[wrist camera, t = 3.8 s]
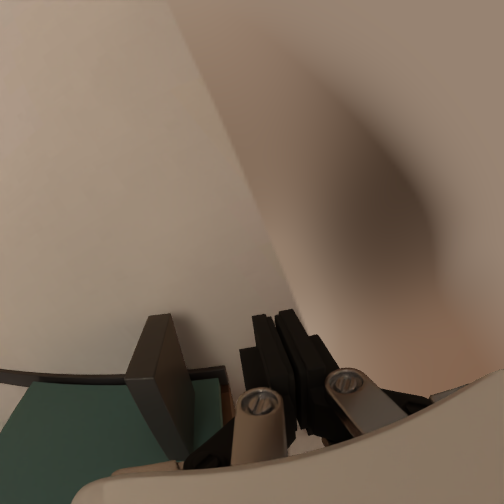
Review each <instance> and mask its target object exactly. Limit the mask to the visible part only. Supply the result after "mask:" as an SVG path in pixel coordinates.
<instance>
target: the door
mask: <svg viewBox="0 0 504 504" xmlns="http://www.w3.org/2000/svg"><path fill="white" fill-rule="evenodd" d="M124 381H125V383H126V385H74V384H57V383H44V382H32V384H31V385H30V387H29V388H28V390H27V391H26V393H25V394H24V396H23V397H22V399H21V400H20V402H19V403H18V405H17V407H16V408H15V410H14V411H13V413H12V415H11V416H10V418H9V419H8V421H7V423H6V424H5V426H4V428H3V430H2V431H1V433H0V504H71V502H72V500H73V499H74V497H75V495H76V494H77V492H78V491H79V490H80V489H81V488H82V487H83V486H85V485H87V484H88V483H90V482H93V481H95V480H98V479H101V478H106V477H110V476H111V474H112V473H113V472H115V471H116V470H119V469H122V468H128V467H136V466H143V465H149V464H155V463H161V462H166V461H171V460H176V461H177V462H181V461H185V460H186V458H187V457H188V456H189V455H190V454H191V453H192V452H194V451H195V450H196V449H197V448H199V447H200V446H201V445H202V444H203V443H205V442H206V441H207V440H208V439H209V438H211V437H212V436H213V435H214V434H215V433H216V432H218V431H219V430H220V429H221V428H222V427H223V418H222V403H221V388H220V383H219V379H218V378H213V379H204V380H195V381H191V379H190V376H189V373H188V370H187V367H186V364H185V361H184V357H183V354H182V351H181V348H180V344H179V341H178V337H177V334H176V330H175V327H174V323H173V319H172V316H171V313H168V314H160V315H152V316H149V317H148V319H147V321H146V324H145V326H144V329H143V331H142V334H141V336H140V338H139V341H138V343H137V346H136V348H135V351H134V354H133V356H132V359H131V361H130V364H129V367H128V369H127V372H126V375H125V377H124Z"/></svg>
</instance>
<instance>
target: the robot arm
mask: <svg viewBox="0 0 504 504" xmlns="http://www.w3.org/2000/svg"><path fill="white" fill-rule="evenodd" d="M252 320H253V327H254V334H255V341H256V347H251V348H245V349H239V351H240V358H241V364H242V370H243V376H244V382H245V388H246V392H244V393H243V394H241V396H240V397H239V398H238V400H237V403H236V412H235V417H233V418H232V419H231V420H230V421H229V422H228V423H227V424H226V425H224V426H223V427H222V428H221V429H220V430H219V431H218V432H216V433H215V434H214V435H213V436H212V437H211V438H209V439H208V440H207V441H206V442H205V443H203V444H202V445H201V446H200V447H199V448H197V449H196V450H195V451H194V452H192V453H191V454H190V455H189V456H188V457H187V458H186V460H185V461H181V462H177V461H176V460H171V461H166V462H161V463H155V464H149V465H143V466H136V467H128V468H122V469H119V470H116V471H115V472H113V473H112V474H111V476H110V477H106V478H101V479H98V480H95V481H93V482H90V483H88V484H87V485H85V486H83V487H82V488H81V489H80V490H79V491H78V492H77V494H76V495H75V497H74V499H73V500H72V502H71V504H504V369H501V370H498V371H495V372H493V373H490V374H487V375H485V376H483V377H481V378H479V379H477V380H475V381H474V382H472V383H470V384H466V385H463V386H460V387H457V388H454V389H451V390H447V391H444V392H441V393H437V394H434V395H430V397H429V399H427V398H425V397H422V396H417V395H411V394H406V393H401V392H395V391H390V390H385V389H381V388H379V387H378V386H377V385H376V384H375V383H374V382H373V381H372V380H371V379H370V378H369V377H367V375H365V374H364V373H363V372H361V371H360V370H357V369H354V368H341V369H340V368H339V367H338V365H337V363H336V362H335V360H334V359H333V357H332V356H331V354H330V353H329V351H328V349H327V348H326V346H325V345H324V343H323V341H322V340H321V339H320V337H319V336H318V335H317V334H316V335H312V336H308V335H307V333H306V331H305V329H304V328H303V326H302V324H301V322H300V321H299V319H298V317H297V316H296V314H295V312H294V310H293V309H289V310H284V311H279V315H275V325H274V322H273V320H272V317H271V316H270V317H266V314H262V315H256V316H252ZM275 326H276V327H275ZM297 420H298V423H299V426H300V428H301V430H302V429H306V431H307V433H308V436H310V435H313V434H314V435H316V436H319V437H322V442H323V444H324V446H325V447H324V448H321V449H317V450H313V451H310V452H306V453H302V454H297V455H293V456H289V457H288V450H287V449H288V448H289V446H290V445H291V444H292V443H293V442H294V440H295V439H296V434H295V431H297Z"/></svg>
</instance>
